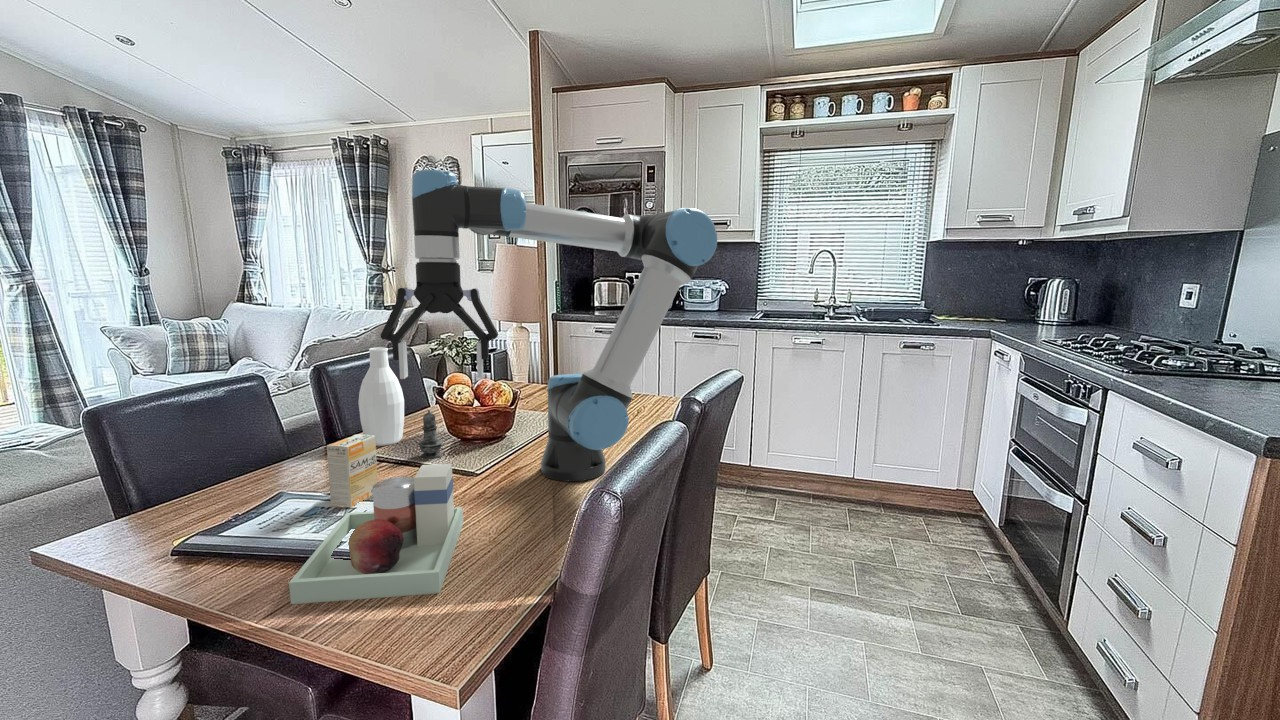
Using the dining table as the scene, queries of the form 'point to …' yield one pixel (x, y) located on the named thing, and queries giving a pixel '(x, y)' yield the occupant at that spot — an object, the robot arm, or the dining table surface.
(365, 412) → the bottle
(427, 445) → the chess piece
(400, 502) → the tin
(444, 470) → the box
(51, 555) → the dining table surface
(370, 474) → the supplement box
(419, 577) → the tote
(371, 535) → the fruit
